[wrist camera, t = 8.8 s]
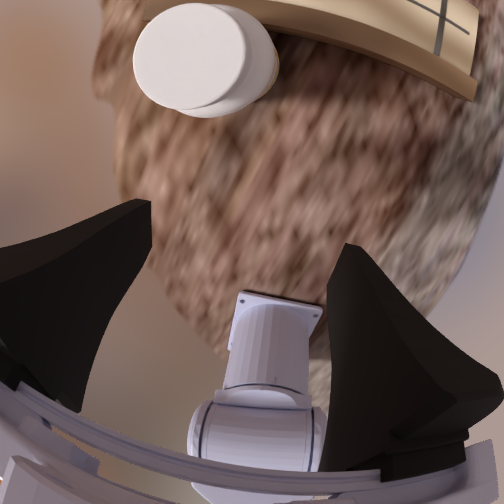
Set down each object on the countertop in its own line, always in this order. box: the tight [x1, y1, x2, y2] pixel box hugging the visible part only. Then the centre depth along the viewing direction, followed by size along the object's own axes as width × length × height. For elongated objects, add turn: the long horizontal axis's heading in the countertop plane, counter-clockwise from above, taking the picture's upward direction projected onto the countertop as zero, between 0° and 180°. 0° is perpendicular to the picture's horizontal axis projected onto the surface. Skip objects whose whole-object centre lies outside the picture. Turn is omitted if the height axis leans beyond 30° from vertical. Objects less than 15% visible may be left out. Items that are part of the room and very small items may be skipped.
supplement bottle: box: [133, 3, 279, 118], centre depth 11 cm, size 5×5×10 cm
